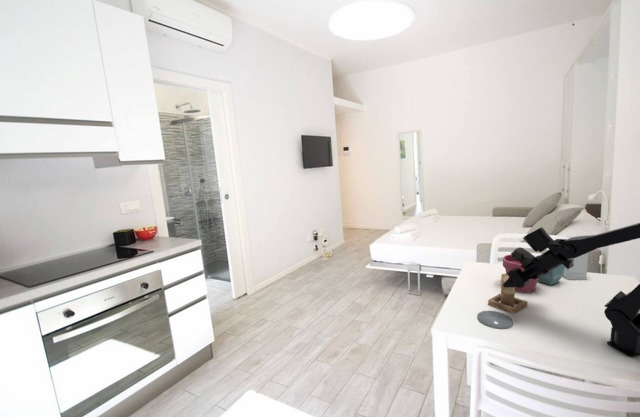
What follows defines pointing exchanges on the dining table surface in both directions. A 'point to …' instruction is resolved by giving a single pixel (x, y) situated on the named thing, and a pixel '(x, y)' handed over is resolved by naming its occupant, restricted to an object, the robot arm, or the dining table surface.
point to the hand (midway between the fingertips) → (510, 282)
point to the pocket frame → (513, 310)
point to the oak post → (507, 292)
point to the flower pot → (552, 276)
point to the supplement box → (577, 269)
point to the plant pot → (511, 264)
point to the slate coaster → (495, 319)
